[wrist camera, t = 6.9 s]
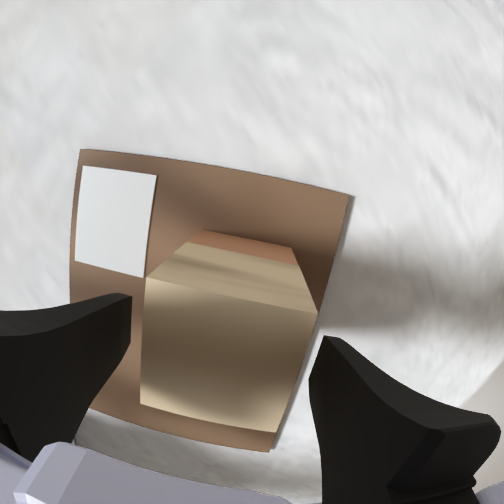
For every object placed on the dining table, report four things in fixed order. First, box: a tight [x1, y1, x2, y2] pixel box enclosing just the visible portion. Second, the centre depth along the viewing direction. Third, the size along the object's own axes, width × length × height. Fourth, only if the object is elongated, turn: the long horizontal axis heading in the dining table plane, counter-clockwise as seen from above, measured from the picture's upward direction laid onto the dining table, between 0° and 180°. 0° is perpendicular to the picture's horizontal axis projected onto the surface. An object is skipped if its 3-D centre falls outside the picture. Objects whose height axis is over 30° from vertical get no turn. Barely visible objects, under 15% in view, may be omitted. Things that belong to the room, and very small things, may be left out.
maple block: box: [140, 242, 318, 432], centre depth 12 cm, size 5×5×5 cm
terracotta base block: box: [187, 229, 298, 265], centre depth 16 cm, size 5×5×4 cm
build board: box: [70, 149, 349, 453], centre depth 18 cm, size 20×16×1 cm
